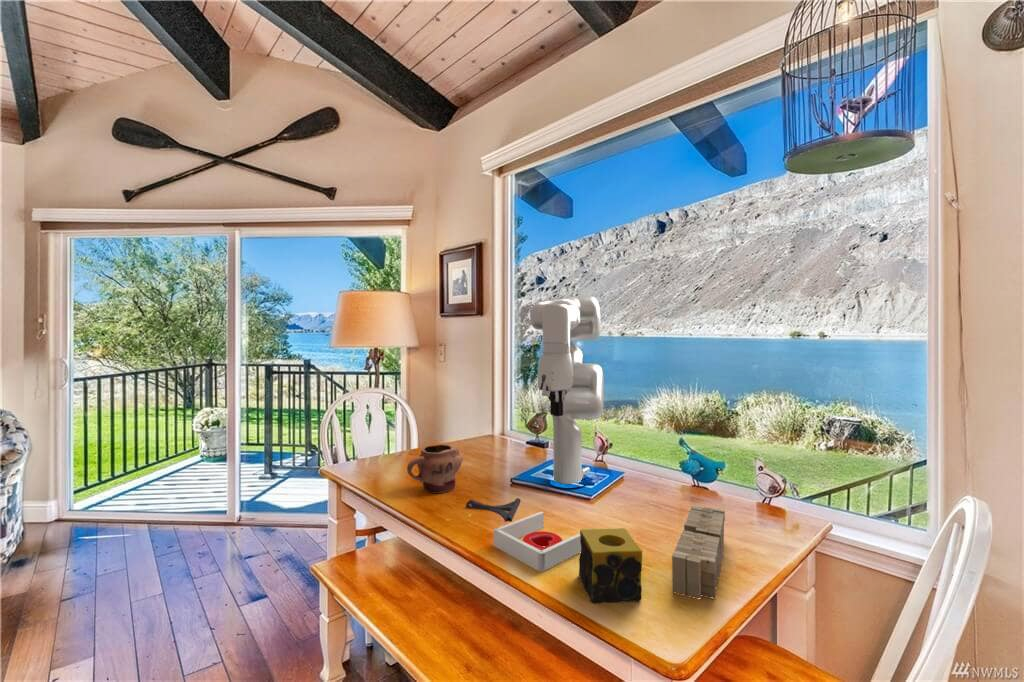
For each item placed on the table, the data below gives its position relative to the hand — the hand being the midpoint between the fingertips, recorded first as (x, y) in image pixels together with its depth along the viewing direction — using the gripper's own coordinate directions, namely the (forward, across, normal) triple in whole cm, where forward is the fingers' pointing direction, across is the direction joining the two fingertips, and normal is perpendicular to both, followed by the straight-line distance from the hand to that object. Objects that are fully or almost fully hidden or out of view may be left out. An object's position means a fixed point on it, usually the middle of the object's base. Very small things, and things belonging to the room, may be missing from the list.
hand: (556, 415), depth 124 cm
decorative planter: (+29, +14, -40) cm, 51 cm away
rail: (+28, +17, +10) cm, 34 cm away
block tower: (+28, -3, +39) cm, 48 cm away
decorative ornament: (+28, +18, +11) cm, 35 cm away
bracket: (+29, +10, -16) cm, 35 cm away
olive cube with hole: (+27, +19, +31) cm, 45 cm away
